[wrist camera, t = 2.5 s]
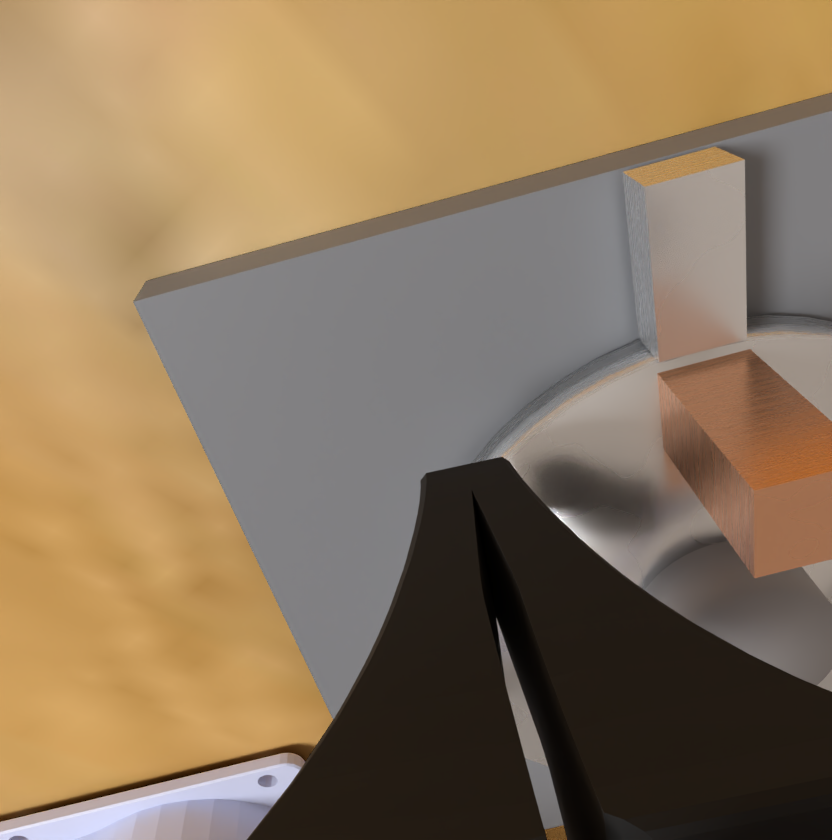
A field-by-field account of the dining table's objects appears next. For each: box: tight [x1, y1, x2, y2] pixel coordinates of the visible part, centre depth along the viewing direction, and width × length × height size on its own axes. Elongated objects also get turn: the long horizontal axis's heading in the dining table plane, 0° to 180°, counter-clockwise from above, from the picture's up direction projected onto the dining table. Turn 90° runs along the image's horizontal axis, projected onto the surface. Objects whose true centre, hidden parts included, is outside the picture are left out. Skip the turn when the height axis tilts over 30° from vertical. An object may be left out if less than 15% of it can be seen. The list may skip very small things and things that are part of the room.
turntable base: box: [133, 93, 832, 830], centre depth 16 cm, size 18×18×4 cm
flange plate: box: [471, 147, 832, 766], centre depth 14 cm, size 12×15×4 cm
